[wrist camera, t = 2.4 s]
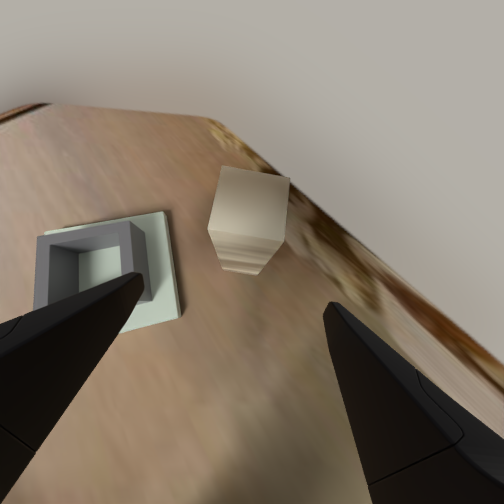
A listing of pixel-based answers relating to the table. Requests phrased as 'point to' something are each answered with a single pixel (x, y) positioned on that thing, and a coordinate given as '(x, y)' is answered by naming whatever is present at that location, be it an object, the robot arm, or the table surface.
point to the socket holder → (110, 264)
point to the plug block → (248, 218)
